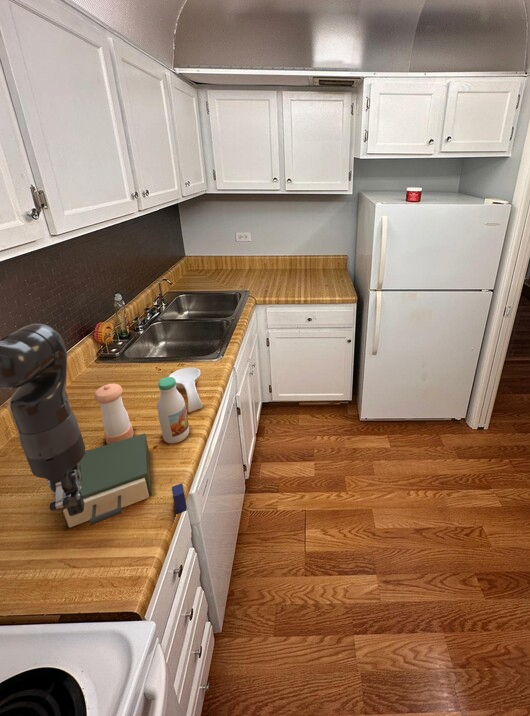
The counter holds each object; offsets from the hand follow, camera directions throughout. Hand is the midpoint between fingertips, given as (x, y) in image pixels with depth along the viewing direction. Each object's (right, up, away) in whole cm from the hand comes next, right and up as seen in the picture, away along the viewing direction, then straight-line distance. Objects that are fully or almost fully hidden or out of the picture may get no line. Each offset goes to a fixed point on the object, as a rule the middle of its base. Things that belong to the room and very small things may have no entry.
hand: (77, 511), depth 62 cm
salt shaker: (-16, -4, +40) cm, 43 cm away
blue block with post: (+11, -11, +21) cm, 26 cm away
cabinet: (-8, -10, +25) cm, 28 cm away
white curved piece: (-2, +4, +61) cm, 61 cm away
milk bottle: (+1, -3, +41) cm, 41 cm away
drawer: (-7, -10, +21) cm, 24 cm away
